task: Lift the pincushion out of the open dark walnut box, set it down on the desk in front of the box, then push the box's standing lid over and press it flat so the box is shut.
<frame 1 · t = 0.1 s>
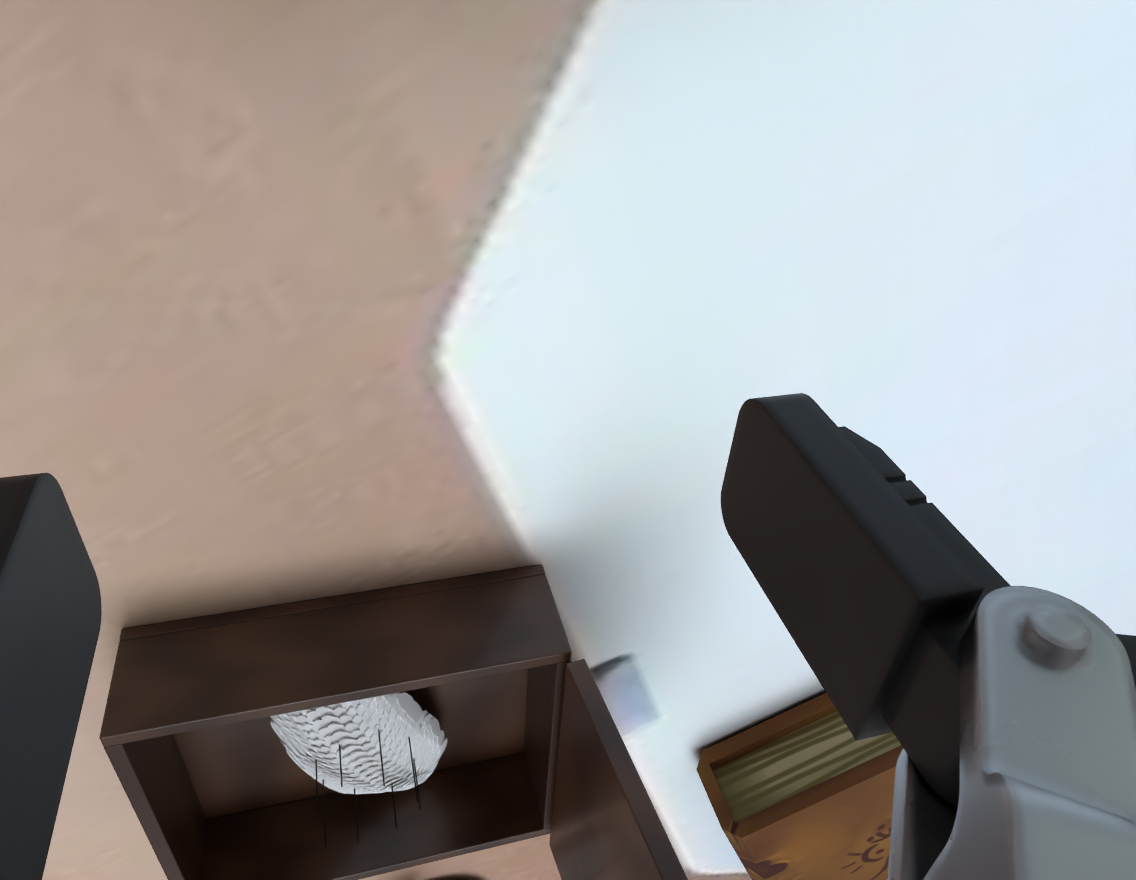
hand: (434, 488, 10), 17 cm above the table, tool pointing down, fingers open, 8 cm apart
diary: (847, 765, 57), on the table
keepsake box: (360, 697, 38), on the table
pincushion: (360, 704, 38), resting on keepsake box
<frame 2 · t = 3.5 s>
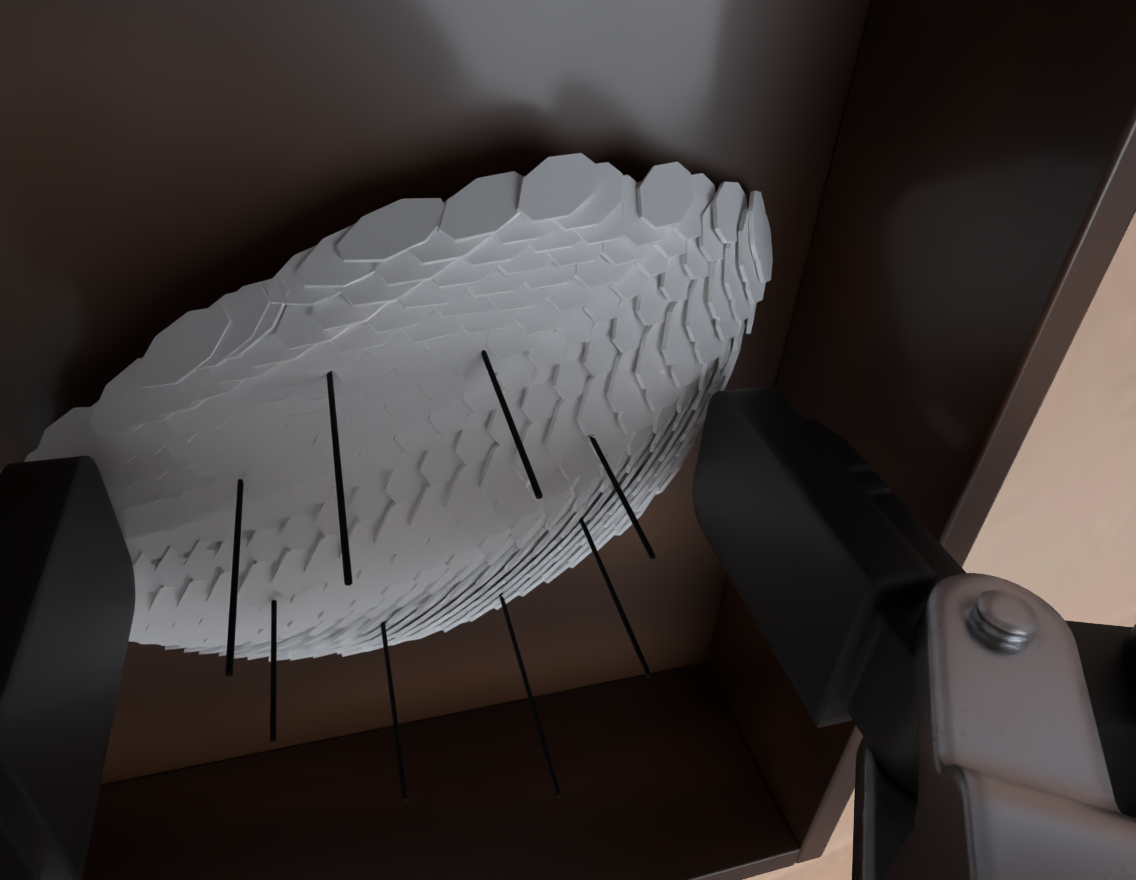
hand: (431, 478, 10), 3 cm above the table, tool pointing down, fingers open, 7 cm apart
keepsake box: (385, 373, 12), on the table
pincushion: (390, 385, 12), resting on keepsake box, touching gripper
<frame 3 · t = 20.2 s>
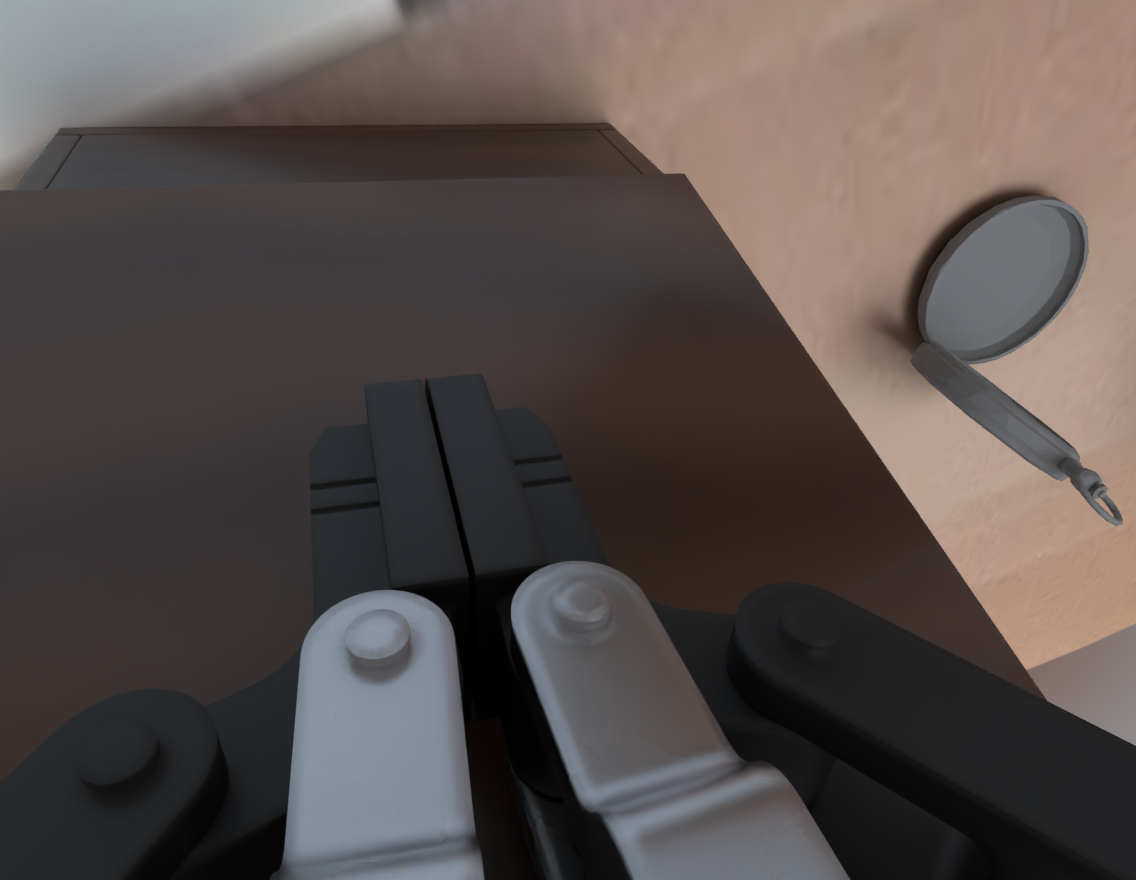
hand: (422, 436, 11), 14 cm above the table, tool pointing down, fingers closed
pocket watch: (960, 296, 31), on the table
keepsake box: (381, 395, 27), on the table
lid: (432, 525, 11), point 14 cm above the table, hinge at 79.9°, touching gripper
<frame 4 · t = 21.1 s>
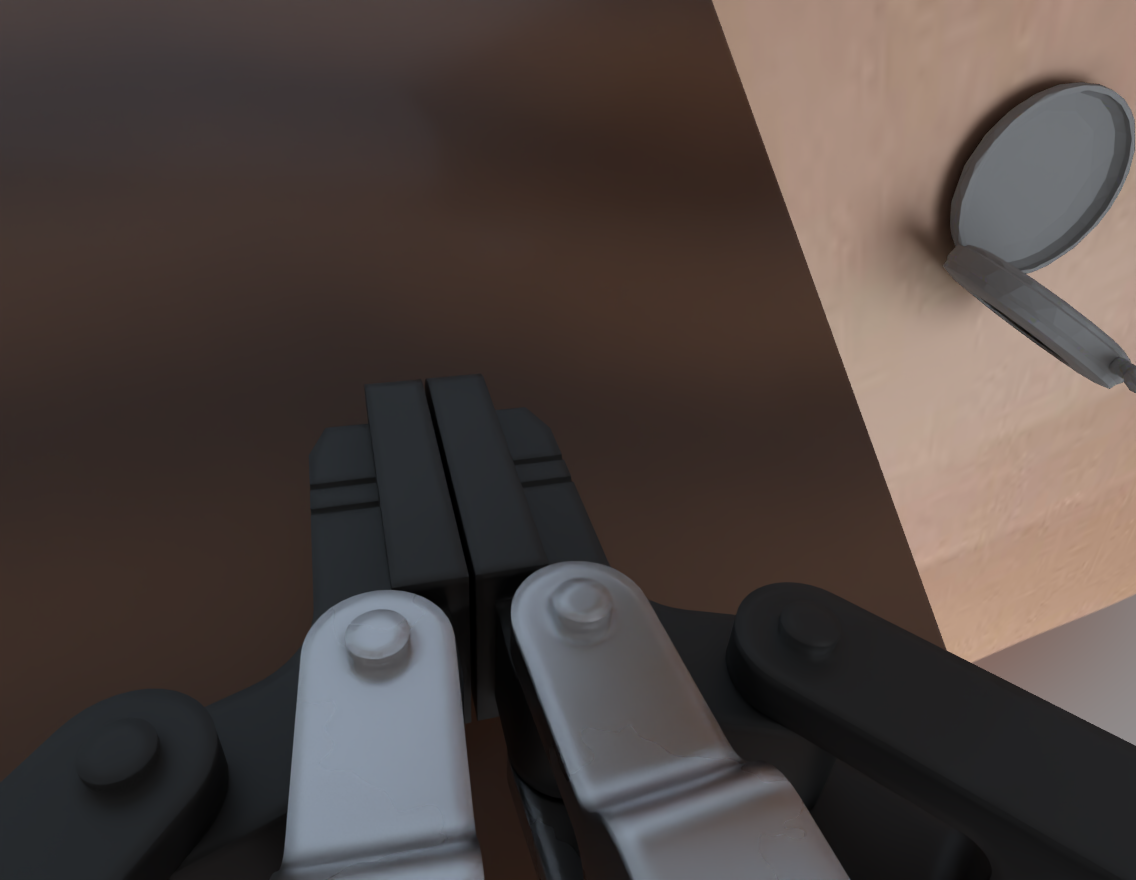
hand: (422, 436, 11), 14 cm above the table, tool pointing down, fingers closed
pocket watch: (995, 202, 29), on the table
lid: (418, 440, 12), point 13 cm above the table, hinge at 59.4°, touching gripper
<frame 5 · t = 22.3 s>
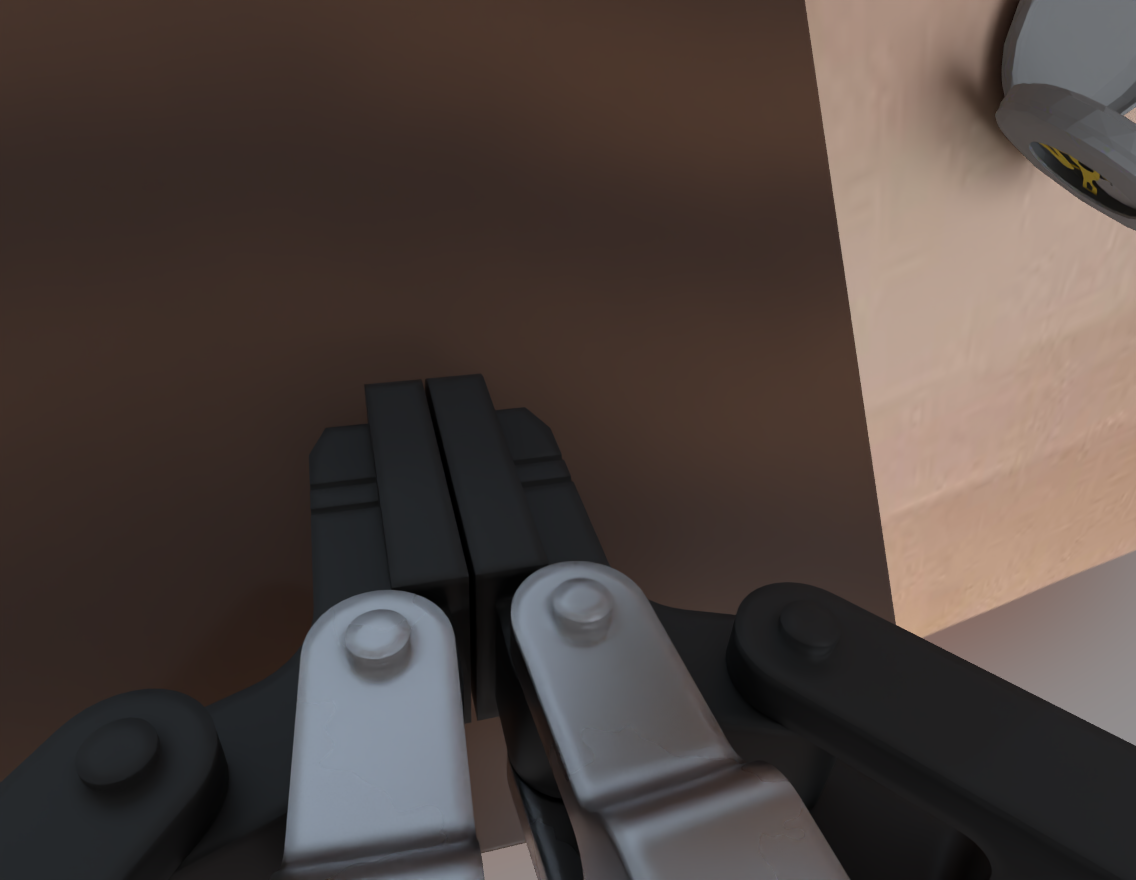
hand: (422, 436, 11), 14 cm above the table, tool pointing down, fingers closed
pocket watch: (1049, 52, 26), on the table
lid: (391, 218, 12), point 11 cm above the table, hinge at 40.9°, touching gripper
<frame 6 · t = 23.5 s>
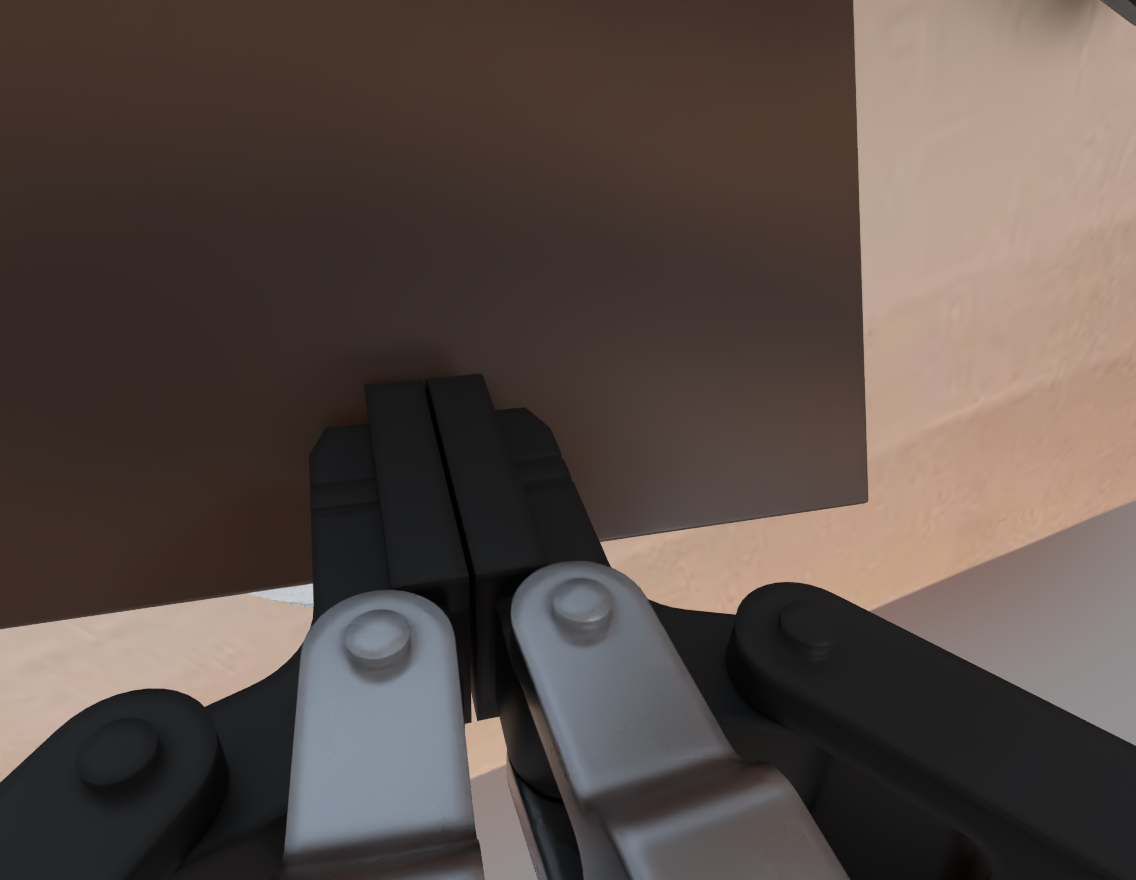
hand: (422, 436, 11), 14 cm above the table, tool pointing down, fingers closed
pincushion: (384, 498, 30), on the table
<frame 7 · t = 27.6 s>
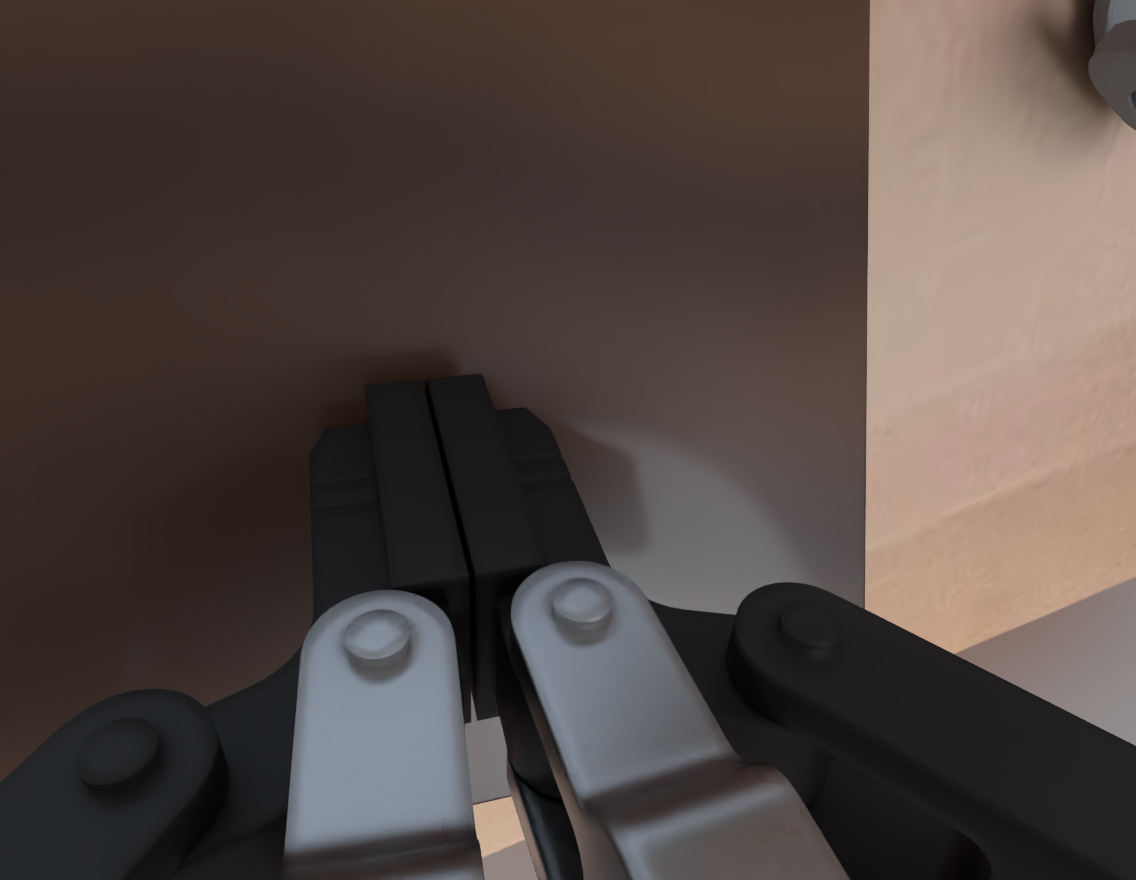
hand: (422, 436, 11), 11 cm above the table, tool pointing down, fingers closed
lid: (389, 192, 11), point 9 cm above the table, hinge at 26.2°, touching gripper
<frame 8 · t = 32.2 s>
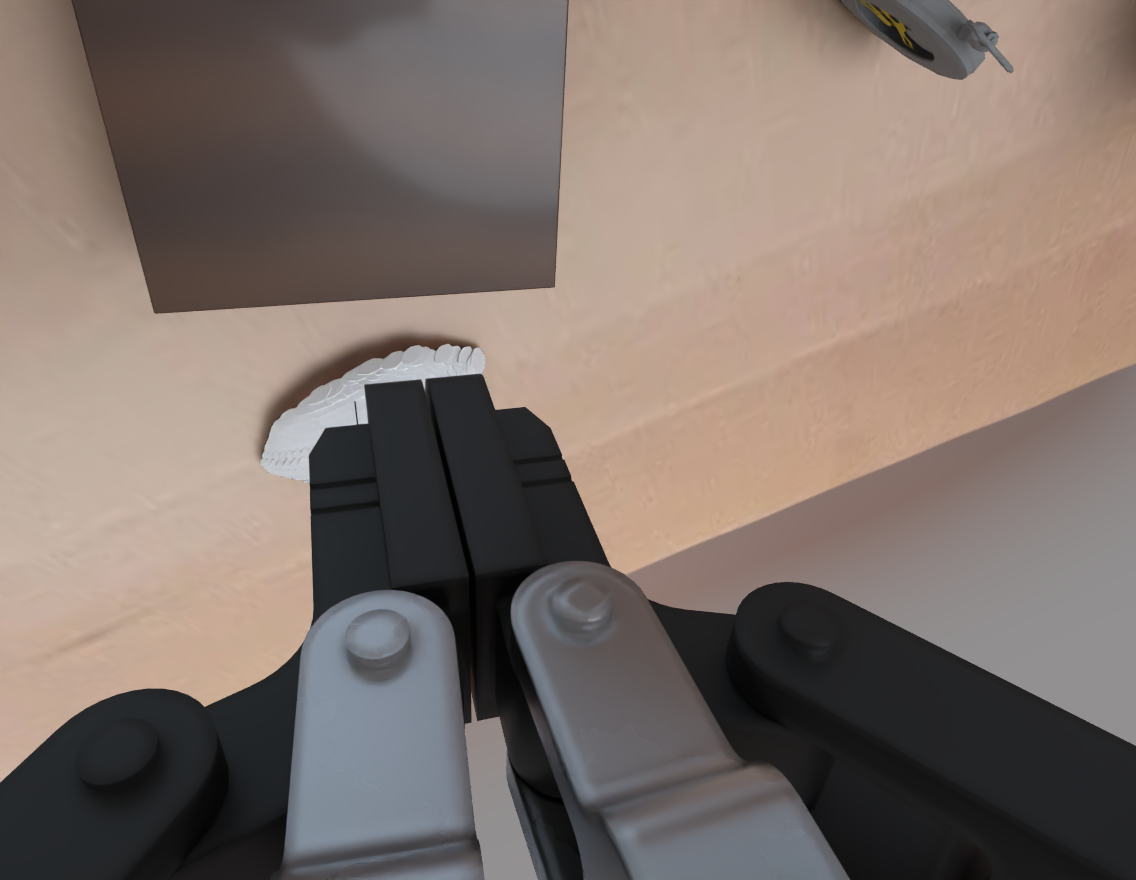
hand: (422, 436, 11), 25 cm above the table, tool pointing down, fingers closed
lid: (339, 23, 25), point 6 cm above the table, hinge at 1.4°
pincushion: (371, 402, 40), on the table
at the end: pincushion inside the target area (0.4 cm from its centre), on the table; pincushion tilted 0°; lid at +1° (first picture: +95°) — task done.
